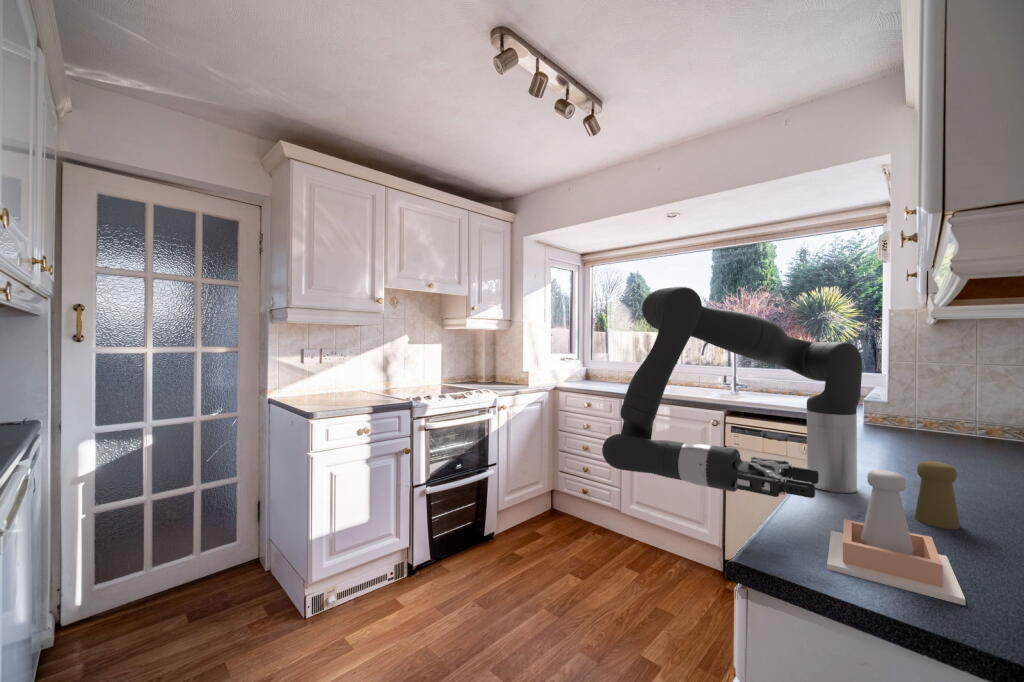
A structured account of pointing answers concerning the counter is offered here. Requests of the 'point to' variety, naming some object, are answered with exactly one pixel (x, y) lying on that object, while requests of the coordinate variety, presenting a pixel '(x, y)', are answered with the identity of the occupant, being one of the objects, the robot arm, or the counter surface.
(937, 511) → the pepper shaker
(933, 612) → the counter surface
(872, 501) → the salt shaker
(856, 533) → the tray
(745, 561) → the counter surface
